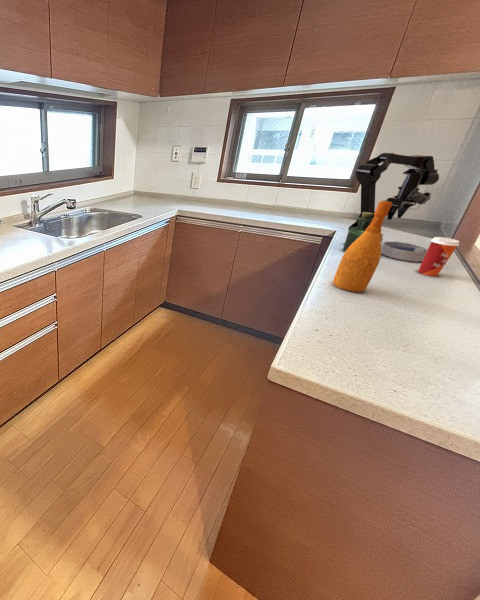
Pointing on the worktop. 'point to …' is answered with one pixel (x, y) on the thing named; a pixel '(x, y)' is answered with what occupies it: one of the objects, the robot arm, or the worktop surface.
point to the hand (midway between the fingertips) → (394, 218)
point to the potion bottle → (357, 229)
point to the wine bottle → (362, 254)
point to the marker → (410, 249)
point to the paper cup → (437, 255)
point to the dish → (402, 251)
